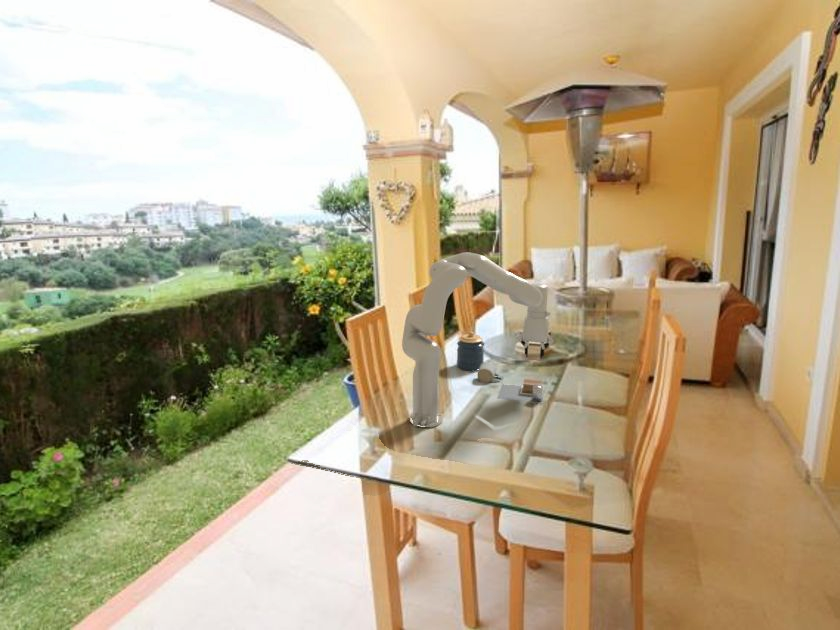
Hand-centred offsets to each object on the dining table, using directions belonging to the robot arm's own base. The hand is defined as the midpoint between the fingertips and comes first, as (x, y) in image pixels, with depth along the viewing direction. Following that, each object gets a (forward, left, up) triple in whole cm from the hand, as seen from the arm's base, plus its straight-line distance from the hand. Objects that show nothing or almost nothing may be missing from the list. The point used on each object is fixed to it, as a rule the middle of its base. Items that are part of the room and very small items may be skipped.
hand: (534, 356), depth 201 cm
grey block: (-9, -3, -15) cm, 18 cm away
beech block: (0, 0, -1) cm, 1 cm away
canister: (+23, +31, -17) cm, 42 cm away
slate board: (-3, +4, -16) cm, 17 cm away
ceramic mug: (+8, +19, -17) cm, 27 cm away
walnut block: (0, 0, -15) cm, 15 cm away
